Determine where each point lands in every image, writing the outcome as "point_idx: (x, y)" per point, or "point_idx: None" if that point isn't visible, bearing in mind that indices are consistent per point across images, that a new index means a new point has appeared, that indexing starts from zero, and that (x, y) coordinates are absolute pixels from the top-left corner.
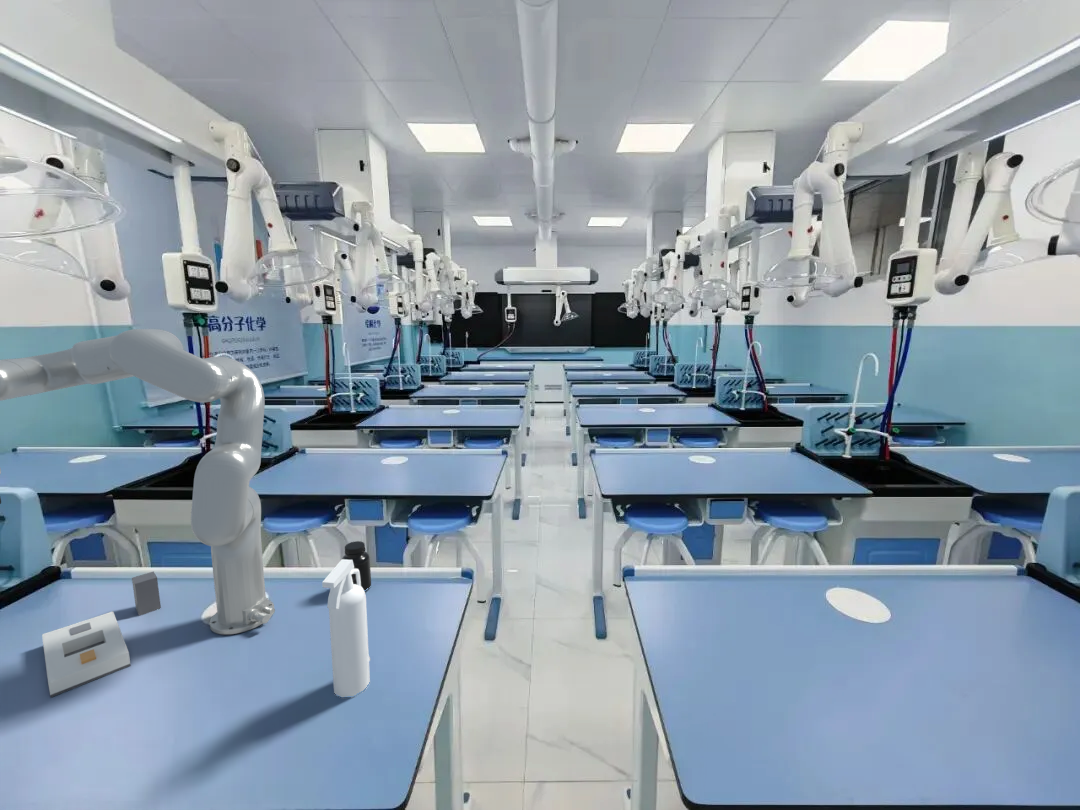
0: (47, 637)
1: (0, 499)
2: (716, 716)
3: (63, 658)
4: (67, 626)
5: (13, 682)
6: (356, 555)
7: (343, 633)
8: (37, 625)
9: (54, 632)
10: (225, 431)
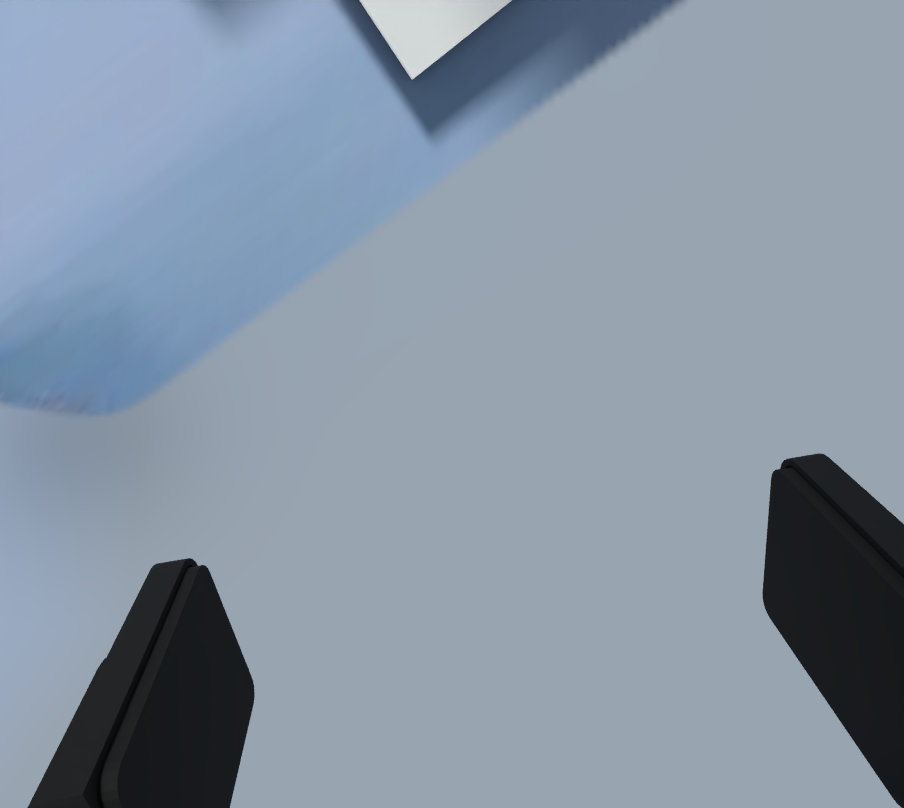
0: (442, 35)
1: (144, 596)
2: None
3: None
4: (366, 2)
5: (613, 35)
6: None
7: None
8: (249, 222)
9: (407, 31)
10: None
